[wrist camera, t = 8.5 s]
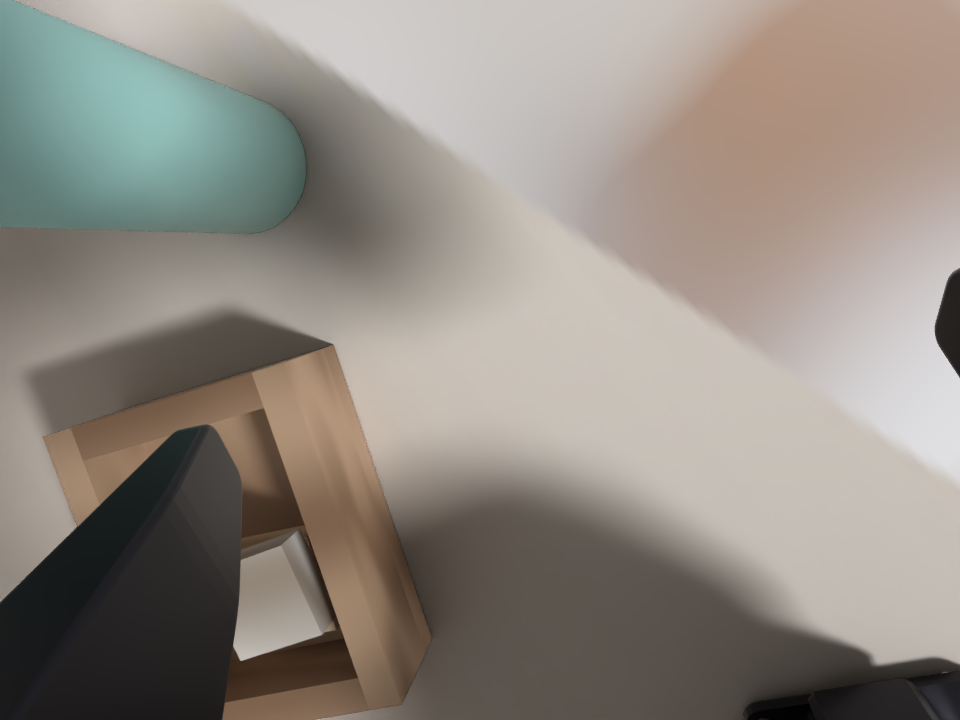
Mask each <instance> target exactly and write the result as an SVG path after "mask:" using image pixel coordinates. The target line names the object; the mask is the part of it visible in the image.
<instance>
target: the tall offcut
mask: <svg viewBox="0 0 960 720" xmlns="http://www.w3.org/2000/svg"><path fill="white" fill-rule="evenodd" d="M305 179H306V157H305V152H304V148H303V145H302V141H301V139H300V137H299V135H298V133H297V131H296V129H295V128H294V126H293V125H292V123H291V122H290V121H289V119H288V118H287V117H286V116H285V115H284V114H283V113H282V112H280V111H279V110H278V109H277V108H275V107H274V106H272V105H270V104H268V103H266V102H264V101H261V100H259V99H256V98H254V97H251V96H249V95H246V94H244V93H241V92H239V91H236V90H234V89H232V88H229V87H227V86H224V85H222V84H219V83H217V82H214V81H212V80H209V79H207V78H204V77H202V76H199V75H197V74H194V73H192V72H190V71H187V70H185V69H182V68H180V67H177V66H175V65H172V64H170V63H167V62H165V61H162V60H160V59H157V58H155V57H152V56H150V55H148V54H145V53H143V52H140V51H138V50H135V49H133V48H130V47H128V46H125V45H123V44H120V43H118V42H115V41H113V40H110V39H108V38H106V37H103V36H101V35H98V34H96V33H93V32H91V31H88V30H86V29H83V28H81V27H78V26H76V25H73V24H71V23H68V22H66V21H64V20H61V19H59V18H56V17H54V16H51V15H49V14H46V13H44V12H41V11H39V10H36V9H34V8H31V7H29V6H26V5H24V4H21V3H19V2H17V1H14V0H0V227H7V228H47V229H86V230H126V231H165V232H205V233H245V234H246V233H258V232H263V231H266V230H269V229H271V228H273V227H275V226H276V225H278V224H279V223H281V222H282V221H283V220H284V219H286V218H287V217H288V216H289V214H290V213H291V212H292V211H293V210H294V208H295V206H296V205H297V203H298V201H299V199H300V197H301V195H302V192H303V189H304V185H305Z"/></svg>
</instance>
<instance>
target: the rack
mask: <svg viewBox="0 0 960 720" xmlns="http://www.w3.org/2000/svg"><path fill="white" fill-rule="evenodd" d="M203 424H208V425H211V426H213V427H214V428H215V429H216V430H217V432H218V433H219V435H220V437H221V439H222V441H223V442H224V444H225V446H226V448H227V450H228V452H229V453H230V455H231V457H232V459H233V461H234V463H235V464H236V466H237V468H238V470H239V473H240V476H241V480H242V527H241V538H245V537H249V536H254V535H259V534H264V533H269V532H274V531H278V530H283V529H288V528H293V527H298V526H303V525H305V527H306V530H307V533H308V536H309V539H310V541H311V544H312V547H313V550H314V553H315V556H316V559H317V561H318V564H319V567H320V570H321V573H322V576H323V579H324V582H325V584H326V587H327V590H328V593H329V596H330V599H331V602H332V604H333V607H334V610H335V613H336V616H337V619H338V622H339V625H340V626H339V627H338V628H337V630H335V631H329V632H324V633H323V635H320V636H317V637H314V638H311V639H308V640H305V641H302V642H299V643H296V644H292V645H289V646H286V647H283V648H280V649H277V650H274V651H271V652H268V653H264V654H261V655H258V656H255V657H252V658H249V659H246V660H243V661H240V659H239V657H238V655H237V653H236V651H235V648H234V646H233V650H232V657H231V664H230V671H229V678H228V685H227V692H226V699H225V705H224V712H223V719H222V720H316V719H322V718H327V717H333V716H339V715H345V714H351V713H356V712H362V711H368V710H374V709H380V708H385V707H391V706H397V705H402V703H403V701H404V699H405V697H406V695H407V692H408V690H409V688H410V686H411V684H412V682H413V679H414V677H415V675H416V673H417V671H418V668H419V666H420V664H421V662H422V660H423V658H424V655H425V653H426V651H427V649H428V647H429V645H430V642H431V640H432V637H431V634H430V631H429V628H428V625H427V622H426V619H425V616H424V613H423V610H422V607H421V604H420V601H419V598H418V595H417V592H416V589H415V586H414V584H413V581H412V578H411V575H410V572H409V569H408V566H407V563H406V560H405V557H404V554H403V551H402V548H401V545H400V542H399V539H398V536H397V533H396V530H395V527H394V524H393V521H392V518H391V515H390V512H389V509H388V506H387V503H386V500H385V497H384V494H383V491H382V488H381V485H380V482H379V479H378V476H377V473H376V470H375V467H374V464H373V461H372V458H371V455H370V452H369V449H368V446H367V443H366V440H365V437H364V434H363V431H362V428H361V425H360V422H359V419H358V416H357V413H356V410H355V407H354V404H353V401H352V398H351V395H350V392H349V389H348V386H347V383H346V380H345V377H344V374H343V371H342V369H341V366H340V363H339V360H338V357H337V354H336V351H335V348H334V345H332V346H328V347H325V348H322V349H319V350H315V351H312V352H309V353H306V354H302V355H299V356H296V357H293V358H289V359H286V360H283V361H280V362H276V363H273V364H270V365H267V366H263V367H260V368H257V369H254V370H251V371H247V372H244V373H241V374H238V375H234V376H231V377H228V378H225V379H221V380H218V381H215V382H212V383H208V384H205V385H202V386H199V387H195V388H192V389H189V390H186V391H182V392H179V393H176V394H173V395H170V396H166V397H163V398H160V399H157V400H153V401H150V402H147V403H144V404H140V405H137V406H134V407H131V408H127V409H124V410H121V411H118V412H115V413H112V414H109V415H106V416H103V417H100V418H97V419H94V420H91V421H88V422H85V423H82V424H79V425H76V426H73V427H70V428H68V429H65V430H62V431H59V432H56V433H53V434H50V435H47V436H44V437H43V439H44V441H45V444H46V447H47V449H48V452H49V454H50V457H51V460H52V462H53V465H54V467H55V470H56V473H57V475H58V478H59V480H60V483H61V486H62V488H63V491H64V493H65V496H66V499H67V501H68V504H69V506H70V509H71V512H72V514H73V517H74V519H75V522H76V525H77V527H78V526H79V525H80V524H81V523H82V522H83V521H84V520H85V519H86V518H87V517H88V516H89V515H90V514H91V513H92V512H93V511H94V510H95V509H96V508H97V507H98V506H99V505H100V504H101V503H102V502H103V501H104V500H105V499H106V498H107V497H108V496H109V495H110V494H111V493H112V492H113V491H114V490H115V489H116V488H117V487H118V486H119V485H121V484H122V483H123V482H124V481H125V480H126V479H127V478H128V477H129V476H130V475H131V474H132V473H133V472H134V471H135V470H136V469H137V468H138V467H139V466H140V465H141V464H142V463H143V462H144V461H145V460H146V459H147V458H148V457H149V456H150V455H151V454H152V453H153V452H154V451H155V450H156V449H157V448H158V447H159V446H160V445H161V444H162V443H163V442H164V441H165V440H166V439H167V438H168V437H169V436H170V435H172V434H173V433H174V432H175V431H177V430H180V429H184V428H189V427H194V426H198V425H203Z"/></svg>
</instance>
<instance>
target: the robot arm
mask: <svg viewBox="0 0 960 720" xmlns="http://www.w3.org/2000/svg"><path fill="white" fill-rule="evenodd" d="M935 336H936V339H937V343H938V345H939V347H940V348H941V350H942V351H943V353H944V354H945V356H946V358H947V359H948V361H949V362H950V364H951V365H952V367H953V368H954V370H955V371H956V373H957V374H958V376H959V377H960V268H959V269H957V270H955V271H954V272H953V273H952V274H951V275H950V276H949V278H948V281H947V283H946V287H945V290H944V294H943V298H942V301H941V305H940V308H939V312H938V316H937V319H936V323H935ZM241 527H242V480H241V476H240V473H239V470H238V468H237V466H236V464H235V463H234V461H233V459H232V457H231V455H230V453H229V452H228V450H227V448H226V446H225V444H224V442H223V441H222V439H221V437H220V435H219V433H218V432H217V430H216V429H215V428H214V427H213V426H211V425H208V424H203V425H198V426H194V427H189V428H184V429H180V430H177V431H175V432H174V433H173V434H172V435H170V436H169V437H168V438H167V439H166V440H165V441H164V442H163V443H162V444H161V445H160V446H159V447H158V448H157V449H156V450H155V451H154V452H153V453H152V454H151V455H150V456H149V457H148V458H147V459H146V460H145V461H144V462H143V463H142V464H141V465H140V466H139V467H138V468H137V469H136V470H135V471H134V472H133V473H132V474H131V475H130V476H129V477H128V478H127V479H126V480H125V481H124V482H123V483H122V484H121V485H119V486H118V487H117V488H116V489H115V490H114V491H113V492H112V493H111V494H110V495H109V496H108V497H107V498H106V499H105V500H104V501H103V502H102V503H101V504H100V505H99V506H98V507H97V508H96V509H95V510H94V511H93V512H92V513H91V514H90V515H89V516H88V517H87V518H86V519H85V520H84V521H83V522H82V523H81V524H80V525H79V526H78V527H77V528H76V529H75V530H74V531H73V532H72V533H71V534H70V535H69V536H67V537H66V538H65V539H64V540H63V541H62V542H61V543H60V544H59V545H58V546H57V547H56V548H55V549H54V550H53V551H52V552H51V553H50V554H49V555H48V556H47V557H46V558H45V559H44V560H43V561H42V562H41V563H40V564H39V565H38V566H37V567H36V568H35V569H34V570H33V571H32V572H31V573H30V574H29V575H28V576H27V577H26V578H25V579H24V580H23V581H22V582H21V583H20V584H19V585H17V586H16V587H15V588H14V589H13V590H12V591H11V592H10V593H9V594H8V595H7V596H6V597H5V598H4V599H3V600H2V601H1V602H0V720H222V719H223V712H224V705H225V699H226V692H227V685H228V678H229V671H230V664H231V657H232V650H233V644H234V637H235V630H236V623H237V615H238V606H239V594H240V567H241ZM743 717H744V720H758V719H761V718H764V719H768V720H960V671H955V672H949V673H942V674H936V675H929V676H923V677H916V678H910V679H903V678H900V679H894V680H887V681H881V682H874V683H868V684H861V685H855V686H848V687H842V688H835V689H829V690H822V691H816V692H814V693H812V694H806V695H799V696H793V697H786V698H780V699H773V700H767V701H760V702H755V703H752V704H750V705H749V706H748V707H747V708H746V709H745V711H744V713H743Z"/></svg>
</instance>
